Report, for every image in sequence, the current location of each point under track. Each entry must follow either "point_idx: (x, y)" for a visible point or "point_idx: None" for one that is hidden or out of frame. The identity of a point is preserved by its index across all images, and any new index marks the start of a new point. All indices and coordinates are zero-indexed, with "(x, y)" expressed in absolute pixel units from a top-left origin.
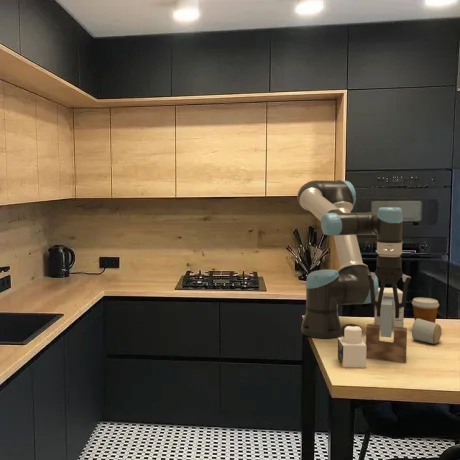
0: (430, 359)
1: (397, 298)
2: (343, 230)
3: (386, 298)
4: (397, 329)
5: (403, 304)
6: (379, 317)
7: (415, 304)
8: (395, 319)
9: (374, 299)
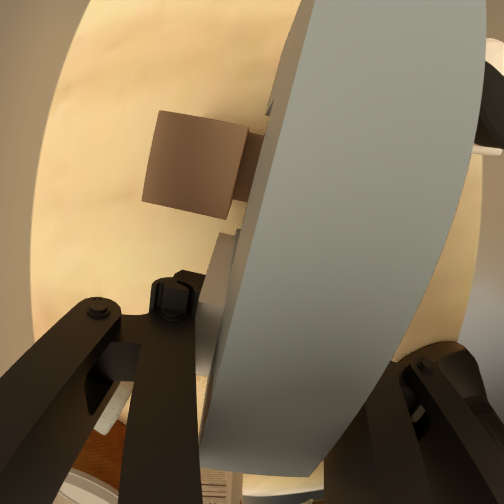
0: (99, 187)
1: (141, 389)
2: None
3: (321, 394)
4: (217, 144)
5: (91, 314)
6: (235, 472)
7: (112, 493)
8: None
9: (431, 394)
